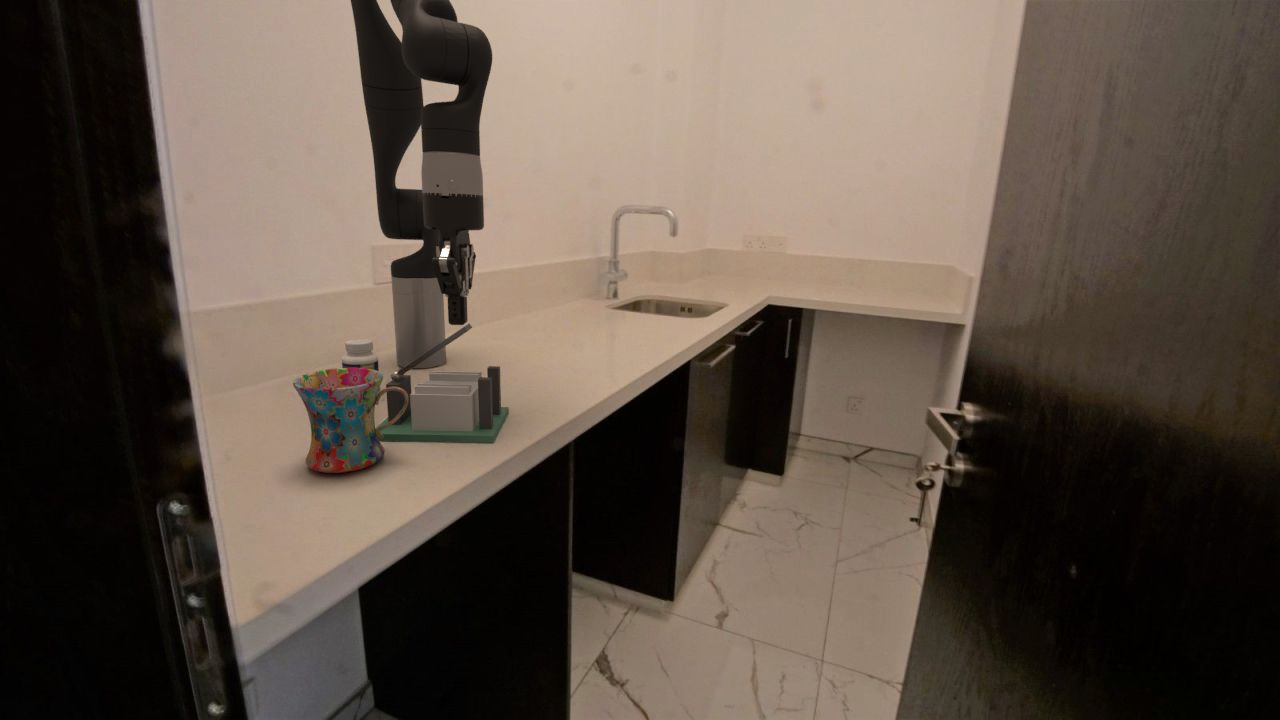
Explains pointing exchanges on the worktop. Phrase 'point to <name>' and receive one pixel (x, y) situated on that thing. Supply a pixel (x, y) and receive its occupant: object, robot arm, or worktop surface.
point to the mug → (343, 417)
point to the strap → (429, 353)
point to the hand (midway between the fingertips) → (458, 323)
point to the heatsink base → (447, 408)
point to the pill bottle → (360, 355)
